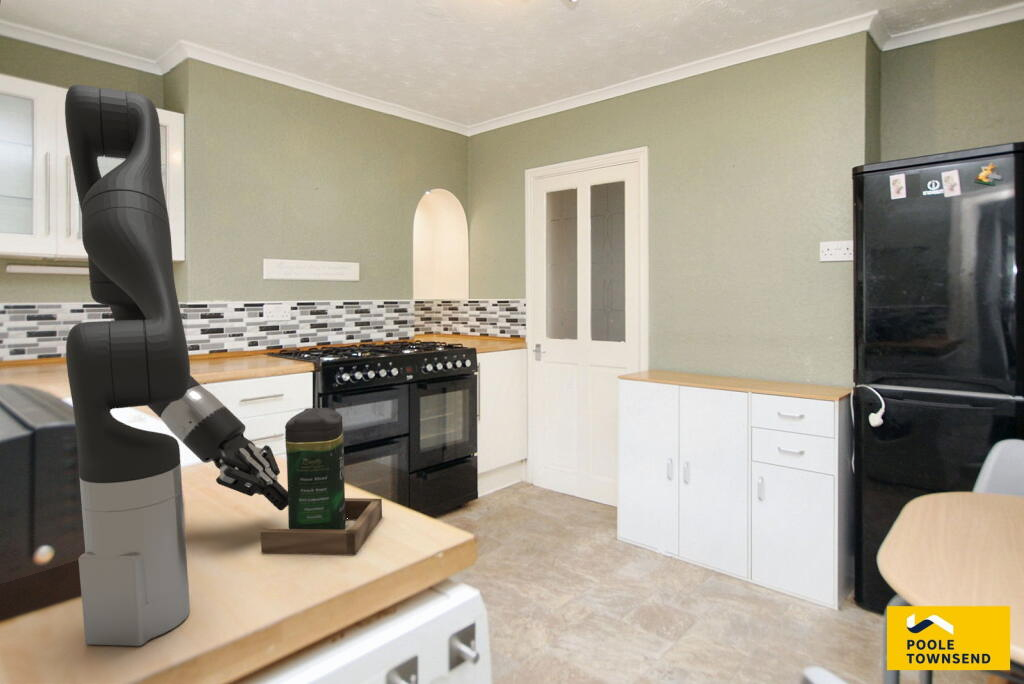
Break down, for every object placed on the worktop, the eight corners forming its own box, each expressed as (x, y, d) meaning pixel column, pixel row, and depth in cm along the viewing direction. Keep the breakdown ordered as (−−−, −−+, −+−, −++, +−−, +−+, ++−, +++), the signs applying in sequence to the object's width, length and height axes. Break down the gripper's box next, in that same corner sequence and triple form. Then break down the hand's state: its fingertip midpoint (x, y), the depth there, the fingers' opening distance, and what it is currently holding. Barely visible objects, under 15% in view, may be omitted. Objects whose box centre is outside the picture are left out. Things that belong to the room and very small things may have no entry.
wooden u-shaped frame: (355, 554, 83) (354, 533, 82) (261, 552, 83) (260, 532, 83) (382, 516, 96) (381, 498, 96) (301, 515, 97) (300, 497, 96)
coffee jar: (342, 544, 86) (337, 416, 84) (284, 548, 85) (278, 418, 83) (350, 518, 95) (345, 402, 94) (297, 522, 94) (292, 405, 92)
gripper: (193, 415, 82) (285, 504, 83) (242, 397, 95) (321, 473, 96) (158, 453, 83) (249, 540, 84) (211, 430, 96) (290, 505, 97)
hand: (287, 504), depth 90 cm, fingers closed
